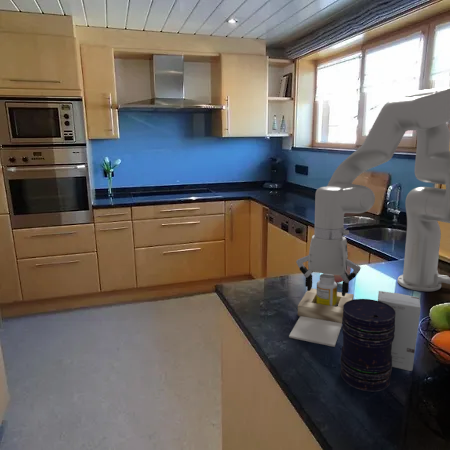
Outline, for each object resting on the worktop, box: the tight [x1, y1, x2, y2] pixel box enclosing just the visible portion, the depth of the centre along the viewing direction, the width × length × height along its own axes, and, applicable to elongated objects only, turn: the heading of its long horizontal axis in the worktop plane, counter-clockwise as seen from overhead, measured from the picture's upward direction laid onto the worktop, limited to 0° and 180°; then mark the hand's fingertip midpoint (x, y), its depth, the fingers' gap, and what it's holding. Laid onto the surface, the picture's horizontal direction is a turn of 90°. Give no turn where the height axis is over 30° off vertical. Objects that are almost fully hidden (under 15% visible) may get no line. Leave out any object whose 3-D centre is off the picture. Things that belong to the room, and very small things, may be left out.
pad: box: [288, 316, 342, 348], centre depth 94 cm, size 11×11×1 cm
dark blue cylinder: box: [340, 298, 396, 392], centre depth 75 cm, size 10×10×15 cm
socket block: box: [297, 287, 355, 323], centre depth 105 cm, size 13×13×3 cm
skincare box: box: [377, 290, 421, 372], centre depth 80 cm, size 8×6×15 cm
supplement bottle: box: [316, 273, 338, 307], centre depth 104 cm, size 6×6×10 cm
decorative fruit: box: [322, 266, 352, 284], centre depth 122 cm, size 9×8×10 cm
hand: (326, 291), depth 104 cm, fingers open, 9 cm apart
